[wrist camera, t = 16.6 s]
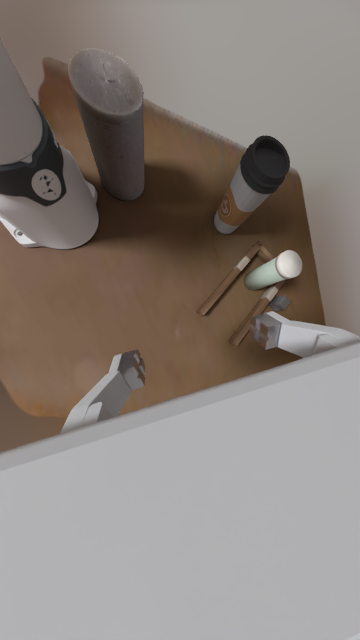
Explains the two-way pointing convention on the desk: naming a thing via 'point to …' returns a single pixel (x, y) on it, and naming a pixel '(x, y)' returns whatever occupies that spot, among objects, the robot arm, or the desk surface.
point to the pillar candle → (111, 118)
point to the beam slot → (275, 304)
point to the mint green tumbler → (274, 271)
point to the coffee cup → (252, 182)
